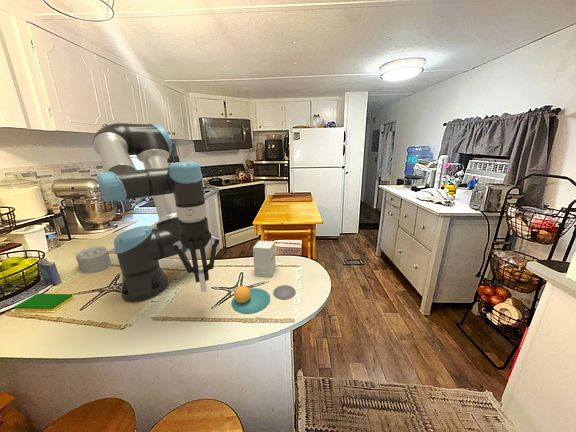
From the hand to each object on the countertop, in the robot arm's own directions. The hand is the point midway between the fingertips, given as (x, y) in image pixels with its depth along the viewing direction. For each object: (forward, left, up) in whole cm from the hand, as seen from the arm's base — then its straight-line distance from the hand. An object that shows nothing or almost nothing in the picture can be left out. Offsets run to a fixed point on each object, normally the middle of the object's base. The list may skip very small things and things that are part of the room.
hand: (203, 289), depth 70 cm
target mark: (+14, -1, -8) cm, 16 cm away
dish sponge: (-53, +23, -9) cm, 58 cm away
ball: (+12, 0, -5) cm, 13 cm away
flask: (-60, +40, -8) cm, 73 cm away
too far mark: (+26, -1, -8) cm, 27 cm away
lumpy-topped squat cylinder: (-48, +48, -8) cm, 68 cm away
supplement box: (+23, +15, -8) cm, 29 cm away
